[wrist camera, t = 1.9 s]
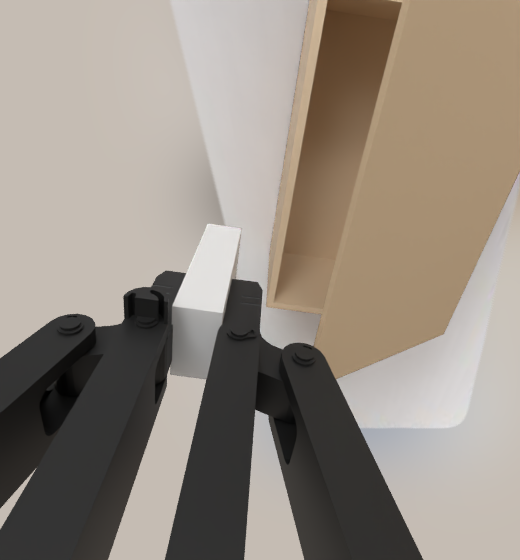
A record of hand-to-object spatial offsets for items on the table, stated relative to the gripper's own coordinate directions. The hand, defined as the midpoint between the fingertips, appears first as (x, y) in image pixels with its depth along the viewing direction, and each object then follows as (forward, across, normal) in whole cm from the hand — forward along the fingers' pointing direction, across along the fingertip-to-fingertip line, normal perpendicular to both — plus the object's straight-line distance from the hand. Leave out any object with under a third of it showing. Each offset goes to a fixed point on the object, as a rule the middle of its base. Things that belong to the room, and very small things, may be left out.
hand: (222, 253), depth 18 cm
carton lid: (+9, +13, 0) cm, 15 cm away
